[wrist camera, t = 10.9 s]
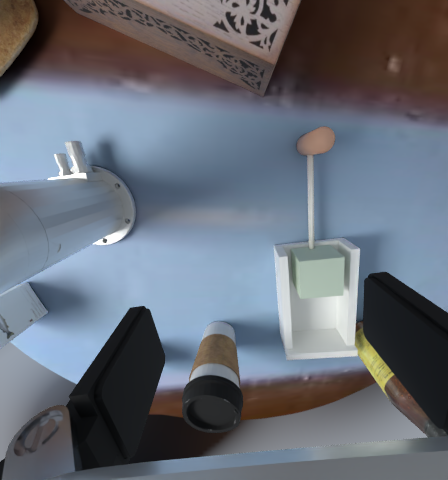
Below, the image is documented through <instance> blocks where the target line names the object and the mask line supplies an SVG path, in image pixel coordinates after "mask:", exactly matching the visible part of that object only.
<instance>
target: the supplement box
mask: <svg viewBox="0 0 448 480" xmlns="http://www.w3.org/2000/svg"><path fill="white" fill-rule="evenodd" d="M47 313H48V311H47V310H46V308H45V307H44V306H43V304H42V303H41V301H40V300H39V299H38V297H37V296H36V294H35V293H34V291H33V290H32V288H31V287H30V285H29V283H28V282H26V283H23V284H20V285H17V286H14V287H12V288H11V289H9V290H7V291H5V292H3V293H2V294H0V349H1V348H2V347H3V346H5V345H6V344H7V343H9V342H10V341H11V340H13V339H14V338H15V337H16V336H18V335H19V334H20V333H22V332H23V331H24V330H26V329H27V328H28V327H30V326H31V325H32V324H34V323H35V322H36V321H38V320H39V319H40V318H42V317H43V316H44V315H46V314H47Z"/></svg>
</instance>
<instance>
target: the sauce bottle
mask: <svg viewBox="0 0 448 480" xmlns="http://www.w3.org/2000/svg"><path fill="white" fill-rule="evenodd" d="M355 347H356V348H357V350H358V355H359V357H360V358H361V360H362V361H363V363H364V364H365V365H366V367H367V368H368V370H369V371H370V373H371V374H372V376H373V377H374V378H375V380H376V381H377V383H378V384H379V386H380V387H381V389H382V390H383V391H384V393H385V394H386V396H387V397H388V399H389V400H390V401H391V403H392V404H393V405H394V406H395V407H396V408H397V409H398V410H399V411H400V412H402V413H403V414H404V415H405V416H406V417H407V418H408V419H409V420H410V421H411V422H412V423H414V424H415V425H416V426H417V427H418V428H419V429H420V430H421V431H422V432H423V433H425V434H426V435H427V437H428V438H429V437H442V436H448V435H447V434H446V432H445V431H444V430H443V429H439V428H438V427H436V426H435V425H434V424H433V423H432V421H431V420H430V419H429V418H428V416H427V415H426V414H425V412H424V411H423V410H422V409H421V407H420V406H419V405H418V404H417V402H416V401H415V400H414V399H413V397H412V396H411V395H410V394H409V392H408V391H407V390H406V389H405V387H404V386H403V385H402V384H401V382H400V381H399V380H398V379H397V377H396V376H395V375H394V374H393V372H392V371H391V370H390V368H389V367H388V366H387V365H386V363H385V362H384V361H383V360H382V358H381V357H380V356H379V355H378V353H377V352H376V351H375V350H374V348H373V347H372V346H371V345H370V343H369V342H368V341H367V340H366V338H365V336H364V333H363V321H360V322H358V323H356V329H355Z"/></svg>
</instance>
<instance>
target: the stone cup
mask: <svg viewBox="0 0 448 480" xmlns="http://www.w3.org/2000/svg"><path fill="white" fill-rule="evenodd" d="M37 24H38V11H37V8H36V5H35V2H34V0H0V77H1V76H2V75H3V73H4V72H5V71H6V70H7V69H8V67H9V66H10V65H11V64H12V63H13V61H14V60H15V59H16V58H17V56H18V55H19V54H20V52H21V51H22V50H23V48H24V47H25V45H26V44H27V42H28V41H29V39H30V38H31V37H32V35H33V34H34V31H35V29H36V26H37Z"/></svg>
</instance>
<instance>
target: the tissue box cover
mask: <svg viewBox="0 0 448 480" xmlns="http://www.w3.org/2000/svg"><path fill="white" fill-rule="evenodd" d="M64 1H65V2H66V3H67V4H68V5H69V6H70V7H71V8H72V9H73V10H74V11H75V12H76V13H78V14H81V15H83V16H85V17H87V18H89V19H92V20H94V21H96V22H98V23H101V24H103V25H105V26H107V27H109V28H112V29H114V30H116V31H118V32H121V33H123V34H125V35H127V36H129V37H132V38H134V39H136V40H138V41H140V42H143V43H145V44H147V45H149V46H152V47H154V48H156V49H158V50H160V51H163V52H165V53H167V54H169V55H172V56H174V57H176V58H178V59H180V60H183V61H185V62H187V63H189V64H191V65H194V66H196V67H198V68H200V69H203V70H205V71H207V72H209V73H211V74H214V75H216V76H218V77H220V78H223V79H225V80H227V81H229V82H231V83H234V84H236V85H238V86H240V87H243V88H245V89H247V90H249V91H251V92H254V93H256V94H258V95H260V96H262V97H263V96H264V93H265V91H266V88H267V86H268V83H269V81H270V78H271V76H272V73H273V71H274V68H275V66H276V63H277V61H278V58H279V55H280V53H281V50H282V48H283V45H284V43H285V40H286V38H287V35H288V33H289V30H290V28H291V25H292V23H293V20H294V18H295V15H296V12H297V10H298V7H299V5H300V2H301V0H64Z"/></svg>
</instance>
